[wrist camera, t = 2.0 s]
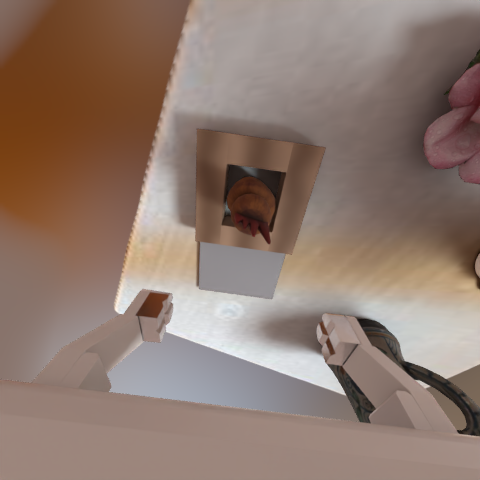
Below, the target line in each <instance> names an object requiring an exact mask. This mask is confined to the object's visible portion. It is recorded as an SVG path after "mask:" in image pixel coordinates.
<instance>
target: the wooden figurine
mask: <svg viewBox="0 0 480 480" xmlns="http://www.w3.org/2000/svg"><path fill="white" fill-rule="evenodd" d="M227 204H228V208H229V210H230V211H231V219H232V221H233V223H234V225H235V227H236V228H237V229H238V230H239V231H240V232H242V233H244V234H248V235H252V237H255V235H257V234H260V233H261V235H262V236H263V238H264V239H265V241H266V242H267V244H270V243H271V240H270V233H269V224H270V222H271V218H272V216H273V214H274V211H275V197H274V195H273V194H272V192H271V191H270V189H269V188H268V187H267V186H266V185H265V184H264V183H263V182H262V181H260V180H259V179H257V178H255V177H252V176H250V177H243V178H242V179H240V180H239V181H237V182H236V183H235V184H234V185H233V187H232V188H231V189H230V191H229V194H228V196H227Z"/></svg>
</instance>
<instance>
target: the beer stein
mask: <svg viewBox="0 0 480 480" xmlns="http://www.w3.org/2000/svg"><path fill="white" fill-rule="evenodd" d="M357 321H358V323H359V324H360V326H361V328H362V329H363V331H364V333H365V335H366V336H367V338H368V340H369V341H370V343H371V345H372V346H374V347H376V348H377V349H379V350H380V351H381V352H382V353H383V354H385V355H386V356H387V357H388V358H389V359H390V360H392V361H393V362H394V363H395V364H396V365H398V366H399V367H400V368H401V369H402V370H403V371H405V372H406V373H407V374H408V375H409V376H411V377H412V378H413V379H414V380H420V381H422V382H424V383H426V384H428V385H430V386H432V387H434V388H435V389H437V390H438V391H440V392H441V393H442V394H444V395H445V396H446V397H448V398H449V399H451V400H452V401H453V402H454V403H455V404H456V405H457V406H458V407H459V408H460V409H461V411H462V412H463V414H464V416H465V418H466V423H467V426H466V428H465V429H464V430H462V431H461V430H460V431H459V430H457V432H458V433H459V434H463V435H471V436H479V437H480V408H479V407H478V406H477V405H476V403H474V401H473V400H472V399H471V398H470V397H468V396H467V395H466V394H465V393H464V392H463V391H462V390H461V389H459V388H458V387H457V386H456V385H454V384H453V383H451V382H450V381H448V380H447V379H445V378H443V377H442V376H440V375H438V374H436V373H434V372H432V371H430V370H428V369H426V368H423V367H421V366H418V365H415V364H412V363H409V362H406V361H404V359H403V356H402V353H401V349H400V345H399V342H398V340H397V339H396V338H395V336H394V335H393V334H392V333H390V332H389V331H388V330H387V329H386V327H385V326H383V325H382V324H380V323H379V322H376V321H372V320H368V319H357ZM322 347H323V346H322ZM327 365H328V366H329V367H330V368H331V370H332V371H333V373H334V374H335V376H336V377H337V379H338V381H339V382H340V384H341V386H342V388H343V389H344V391H345V393H346V395H347V397H348V399H349V401H350V403H351V405H352V407H353V409H354V411H355V413H356V415H357V417H358V419H359V421H360V422H363V423H371V422H370V420H369V416H370V414H371V413H372V412H373V411H374V410H376V408H375V407H374V405H373V404H372V403H371V402H370V400H369V399H368V398H367V397H366V395H365V394H364V393H363V392H362V390H361V389H360V388H359V387H358V386H357V384H356V383H355V382H354V381H353V379H352V378H351V377H350V376H349V374H348V373H347V372H346V371H345V369H344V368H343V366H340V365H333V364H327Z"/></svg>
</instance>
